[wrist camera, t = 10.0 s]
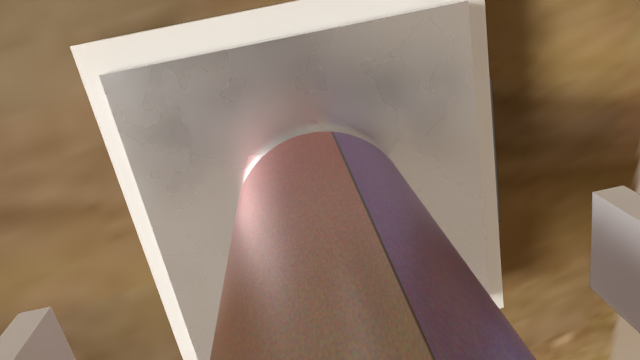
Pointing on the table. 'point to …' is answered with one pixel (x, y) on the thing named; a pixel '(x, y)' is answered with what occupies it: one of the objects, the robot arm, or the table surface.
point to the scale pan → (299, 132)
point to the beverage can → (348, 266)
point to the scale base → (250, 26)
